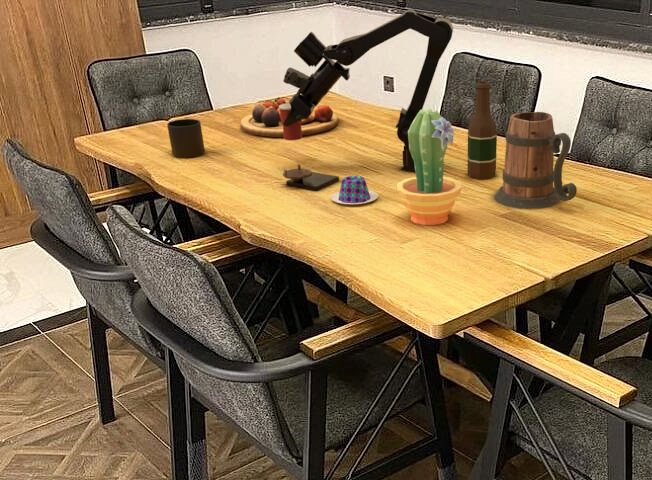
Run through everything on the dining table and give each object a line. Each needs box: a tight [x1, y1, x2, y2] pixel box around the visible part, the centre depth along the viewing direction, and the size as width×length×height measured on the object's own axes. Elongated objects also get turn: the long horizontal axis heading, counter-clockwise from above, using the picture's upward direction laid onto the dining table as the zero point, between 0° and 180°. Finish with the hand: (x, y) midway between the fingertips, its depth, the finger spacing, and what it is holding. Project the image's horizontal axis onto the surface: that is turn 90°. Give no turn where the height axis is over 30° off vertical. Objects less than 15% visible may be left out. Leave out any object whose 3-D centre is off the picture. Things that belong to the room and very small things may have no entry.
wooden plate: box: [239, 96, 339, 138], centre depth 273 cm, size 32×32×8 cm
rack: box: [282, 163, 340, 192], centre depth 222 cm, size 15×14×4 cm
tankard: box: [493, 111, 578, 210], centre depth 203 cm, size 24×17×20 cm
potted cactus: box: [396, 108, 462, 226], centre depth 192 cm, size 15×15×25 cm
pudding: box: [330, 175, 379, 205], centre depth 210 cm, size 12×12×5 cm
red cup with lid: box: [279, 102, 303, 141], centre depth 228 cm, size 6×6×9 cm
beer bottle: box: [467, 81, 498, 180], centre depth 220 cm, size 8×8×24 cm
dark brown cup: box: [166, 118, 206, 159], centre depth 247 cm, size 9×12×9 cm
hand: (286, 122), depth 228 cm, fingers closed on red cup with lid, 5 cm apart
